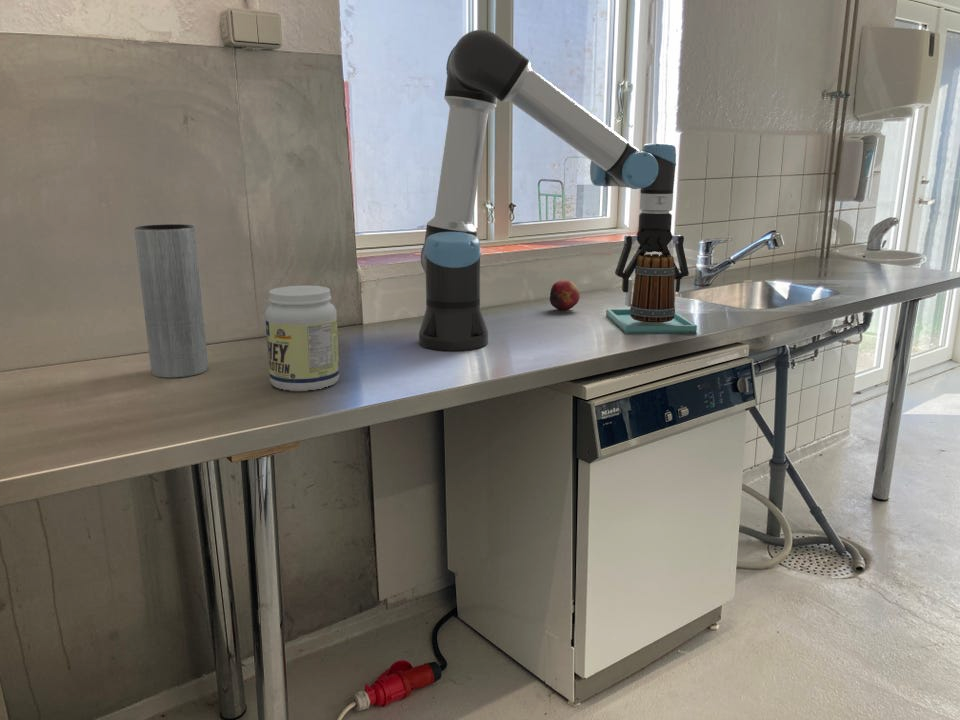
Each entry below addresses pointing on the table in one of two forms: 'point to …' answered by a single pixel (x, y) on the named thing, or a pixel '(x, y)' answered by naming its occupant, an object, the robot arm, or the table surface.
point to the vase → (172, 299)
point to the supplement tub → (302, 338)
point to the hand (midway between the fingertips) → (649, 305)
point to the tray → (649, 324)
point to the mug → (653, 289)
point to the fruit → (564, 295)
